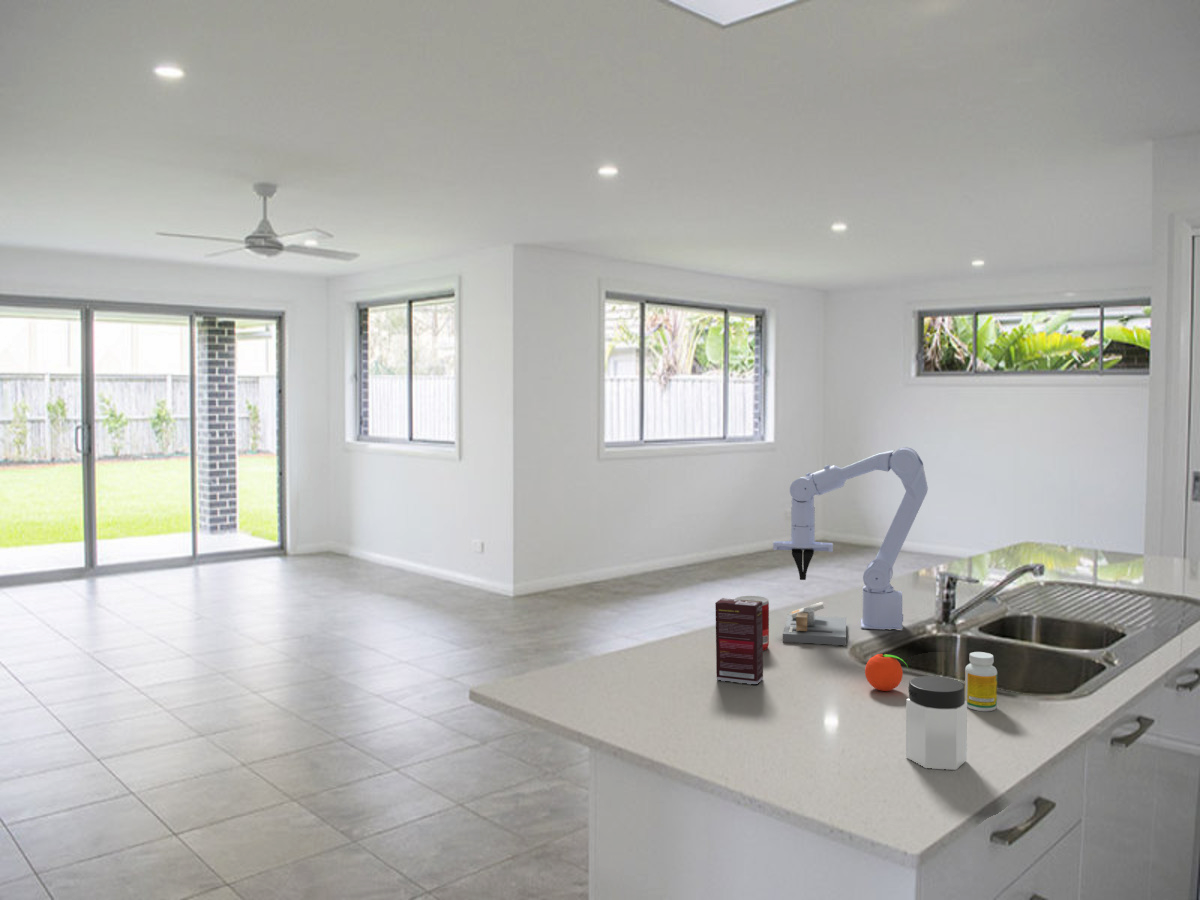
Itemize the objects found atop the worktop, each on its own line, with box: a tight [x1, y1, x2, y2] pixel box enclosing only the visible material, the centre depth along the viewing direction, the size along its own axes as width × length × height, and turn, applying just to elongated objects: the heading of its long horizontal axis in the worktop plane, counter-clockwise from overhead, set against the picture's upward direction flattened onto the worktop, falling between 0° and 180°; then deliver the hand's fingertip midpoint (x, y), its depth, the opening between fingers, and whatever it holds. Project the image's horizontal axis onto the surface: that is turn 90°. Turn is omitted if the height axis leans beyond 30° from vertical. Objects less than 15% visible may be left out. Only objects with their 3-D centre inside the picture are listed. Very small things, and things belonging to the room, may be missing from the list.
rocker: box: [790, 601, 825, 618], centre depth 223 cm, size 8×4×1 cm, turn 74°
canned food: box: [734, 595, 770, 652], centre depth 205 cm, size 8×8×11 cm
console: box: [782, 613, 847, 646], centre depth 217 cm, size 14×19×3 cm
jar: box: [905, 675, 968, 771], centre depth 141 cm, size 9×8×12 cm
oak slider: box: [796, 613, 808, 631], centre depth 212 cm, size 2×4×3 cm, turn 165°
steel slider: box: [803, 607, 816, 626], centre depth 217 cm, size 2×4×3 cm, turn 165°
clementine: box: [864, 653, 909, 692], centre depth 175 cm, size 8×7×7 cm
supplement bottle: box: [964, 651, 998, 712], centre depth 165 cm, size 5×5×10 cm
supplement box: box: [714, 597, 764, 685], centre depth 182 cm, size 9×5×16 cm, turn 65°
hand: (802, 579), depth 229 cm, fingers closed
